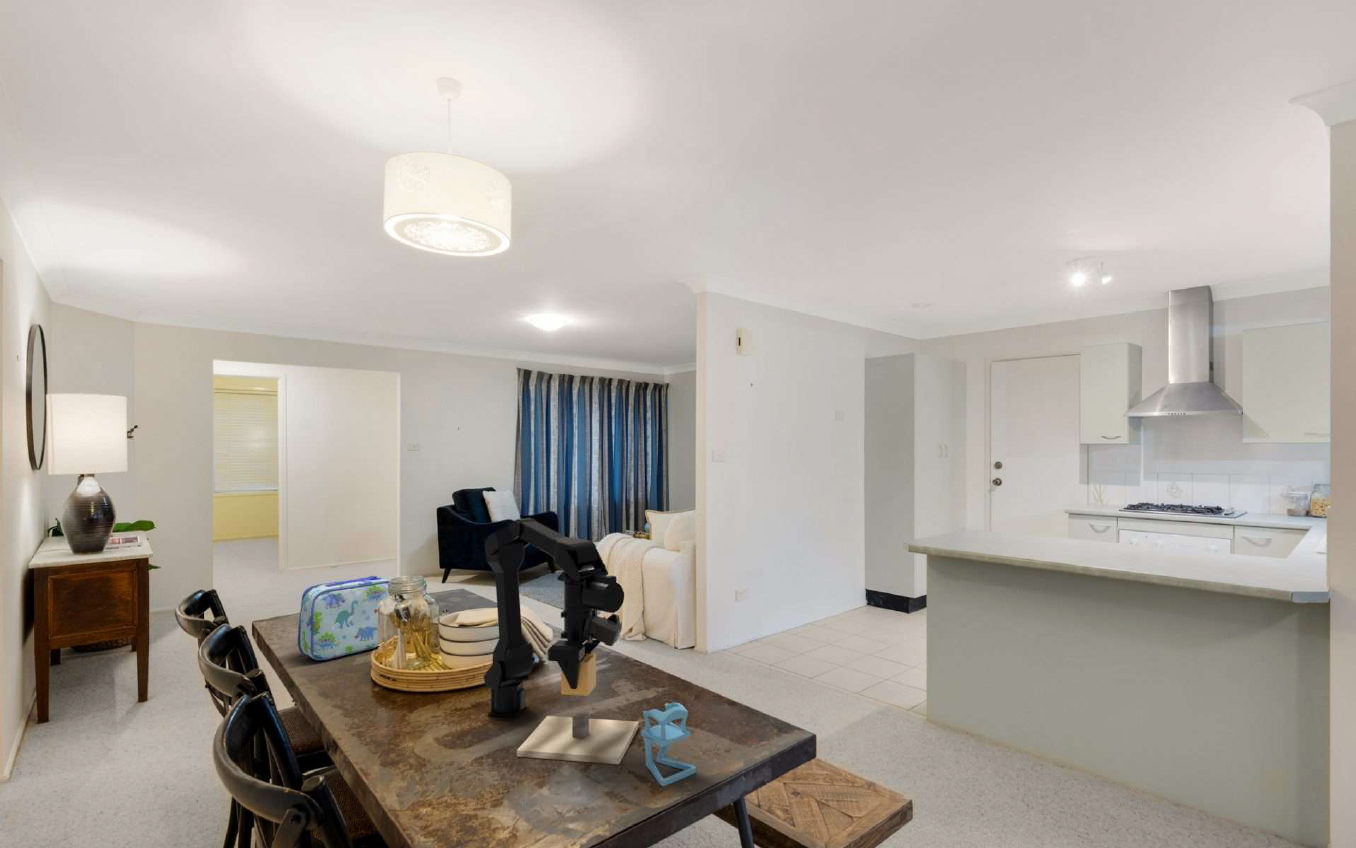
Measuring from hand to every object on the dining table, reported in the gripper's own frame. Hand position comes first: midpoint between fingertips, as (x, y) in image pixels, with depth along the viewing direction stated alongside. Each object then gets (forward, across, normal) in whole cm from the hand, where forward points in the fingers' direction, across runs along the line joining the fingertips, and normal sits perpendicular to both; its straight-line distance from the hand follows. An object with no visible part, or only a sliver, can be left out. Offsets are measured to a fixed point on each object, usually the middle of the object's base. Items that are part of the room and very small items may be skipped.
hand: (578, 683), depth 130 cm
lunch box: (+12, +46, +85) cm, 97 cm away
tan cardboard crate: (+1, 0, 0) cm, 1 cm away
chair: (+12, -8, -19) cm, 24 cm away
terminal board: (+12, 0, 0) cm, 12 cm away
